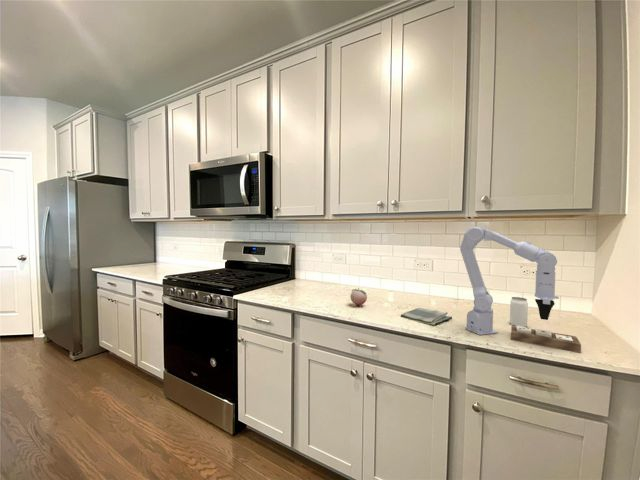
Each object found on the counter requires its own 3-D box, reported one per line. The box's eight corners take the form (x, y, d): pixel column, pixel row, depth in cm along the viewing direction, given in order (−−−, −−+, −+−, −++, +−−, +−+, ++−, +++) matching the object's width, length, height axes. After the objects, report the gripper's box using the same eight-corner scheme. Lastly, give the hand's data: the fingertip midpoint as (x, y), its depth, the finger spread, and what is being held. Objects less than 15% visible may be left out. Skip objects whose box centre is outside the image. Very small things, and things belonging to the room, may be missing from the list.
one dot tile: (535, 339, 106) (536, 331, 106) (535, 336, 110) (535, 328, 109) (551, 342, 103) (551, 334, 103) (550, 338, 107) (550, 330, 107)
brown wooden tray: (511, 339, 108) (511, 332, 108) (511, 332, 116) (511, 325, 116) (580, 352, 97) (581, 344, 97) (575, 344, 104) (576, 336, 104)
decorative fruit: (347, 306, 153) (347, 288, 153) (352, 303, 160) (353, 286, 160) (364, 309, 149) (364, 290, 148) (368, 305, 156) (368, 287, 156)
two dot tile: (556, 346, 102) (556, 337, 102) (554, 341, 106) (555, 333, 106) (573, 349, 100) (573, 340, 100) (570, 344, 104) (571, 336, 103)
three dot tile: (516, 336, 109) (516, 328, 109) (516, 332, 113) (516, 325, 113) (531, 339, 107) (531, 331, 106) (530, 335, 110) (530, 327, 110)
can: (510, 321, 130) (511, 296, 130) (527, 324, 126) (528, 298, 126) (508, 325, 125) (509, 298, 125) (526, 328, 121) (527, 301, 121)
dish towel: (399, 317, 136) (399, 311, 136) (418, 311, 148) (419, 305, 148) (435, 328, 122) (435, 321, 122) (454, 320, 133) (454, 313, 133)
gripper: (561, 288, 97) (560, 326, 98) (556, 281, 109) (555, 316, 110) (536, 285, 101) (535, 322, 102) (533, 279, 113) (532, 313, 114)
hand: (543, 319), depth 106 cm, fingers closed
